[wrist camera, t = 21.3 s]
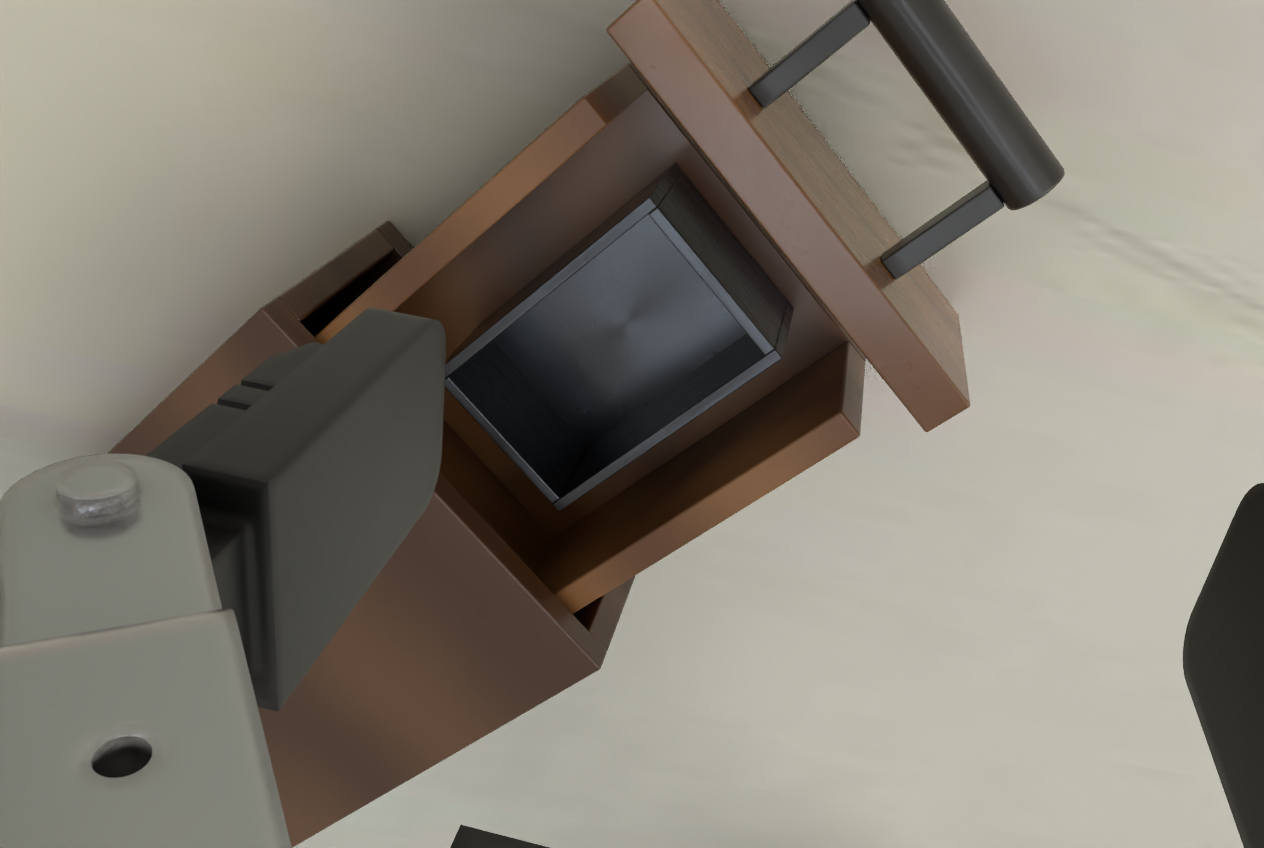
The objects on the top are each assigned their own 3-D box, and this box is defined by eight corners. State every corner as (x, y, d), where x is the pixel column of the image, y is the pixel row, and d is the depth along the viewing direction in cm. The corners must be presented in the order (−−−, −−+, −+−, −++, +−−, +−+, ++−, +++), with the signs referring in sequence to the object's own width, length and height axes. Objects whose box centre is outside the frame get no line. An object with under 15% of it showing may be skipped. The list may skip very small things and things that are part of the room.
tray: (794, 308, 30) (782, 358, 27) (590, 452, 33) (558, 512, 30) (675, 161, 29) (649, 196, 26) (477, 325, 32) (432, 374, 29)
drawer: (835, -162, 26) (819, -169, 21) (1106, 220, 28) (1151, 298, 23) (330, 297, 34) (231, 373, 29) (575, 563, 36) (522, 676, 31)
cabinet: (388, 219, 33) (261, 307, 27) (656, 521, 36) (600, 669, 29) (110, 477, 40) (-47, 598, 34) (352, 715, 43) (252, 871, 36)
